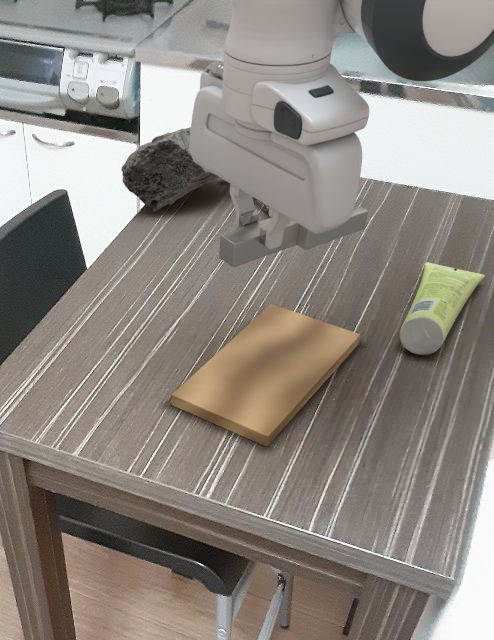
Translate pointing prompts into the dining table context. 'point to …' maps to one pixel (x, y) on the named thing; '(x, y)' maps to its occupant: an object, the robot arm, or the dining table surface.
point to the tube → (436, 307)
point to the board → (266, 373)
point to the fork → (247, 247)
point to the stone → (164, 170)
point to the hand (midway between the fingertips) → (258, 237)
